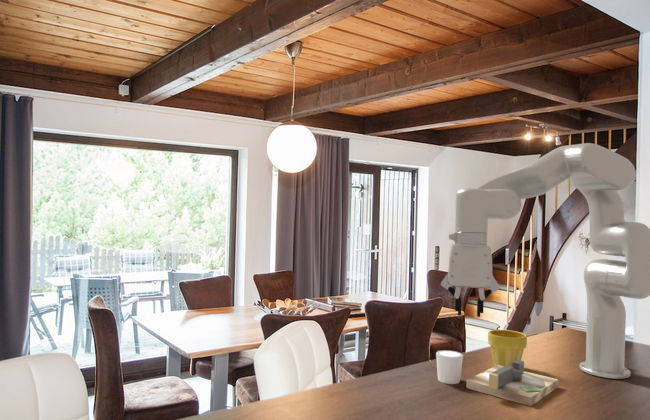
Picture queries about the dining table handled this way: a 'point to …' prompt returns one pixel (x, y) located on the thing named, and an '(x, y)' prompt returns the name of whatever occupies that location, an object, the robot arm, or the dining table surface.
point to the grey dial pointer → (506, 374)
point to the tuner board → (515, 387)
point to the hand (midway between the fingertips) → (469, 314)
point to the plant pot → (506, 346)
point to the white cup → (449, 366)
